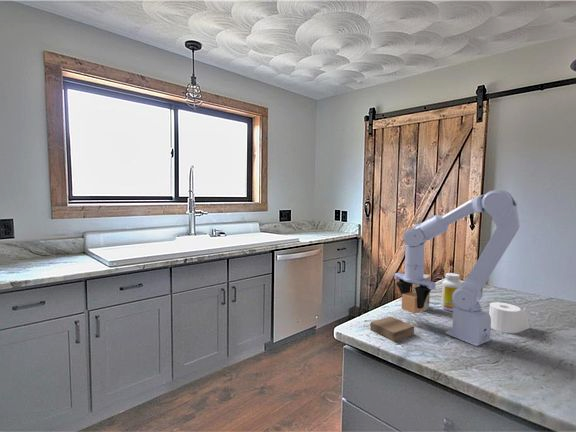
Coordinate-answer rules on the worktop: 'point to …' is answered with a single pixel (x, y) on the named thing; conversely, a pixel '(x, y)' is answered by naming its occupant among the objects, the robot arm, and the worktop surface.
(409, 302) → the orange cube
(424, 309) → the skincare box
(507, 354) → the worktop surface
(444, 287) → the supplement bottle
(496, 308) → the toilet paper
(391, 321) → the walnut block
